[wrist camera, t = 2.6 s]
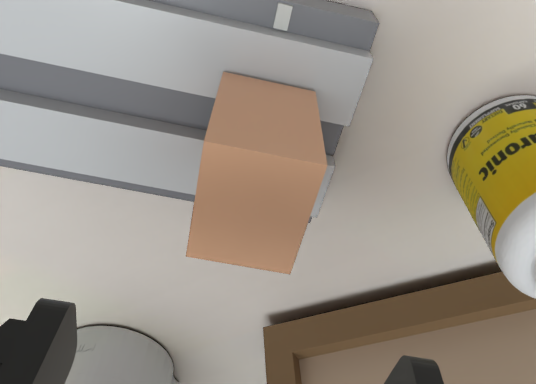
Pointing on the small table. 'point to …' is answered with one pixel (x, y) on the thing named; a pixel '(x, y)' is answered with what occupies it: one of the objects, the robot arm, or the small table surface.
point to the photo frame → (413, 337)
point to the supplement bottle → (501, 182)
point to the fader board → (162, 80)
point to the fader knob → (257, 174)
